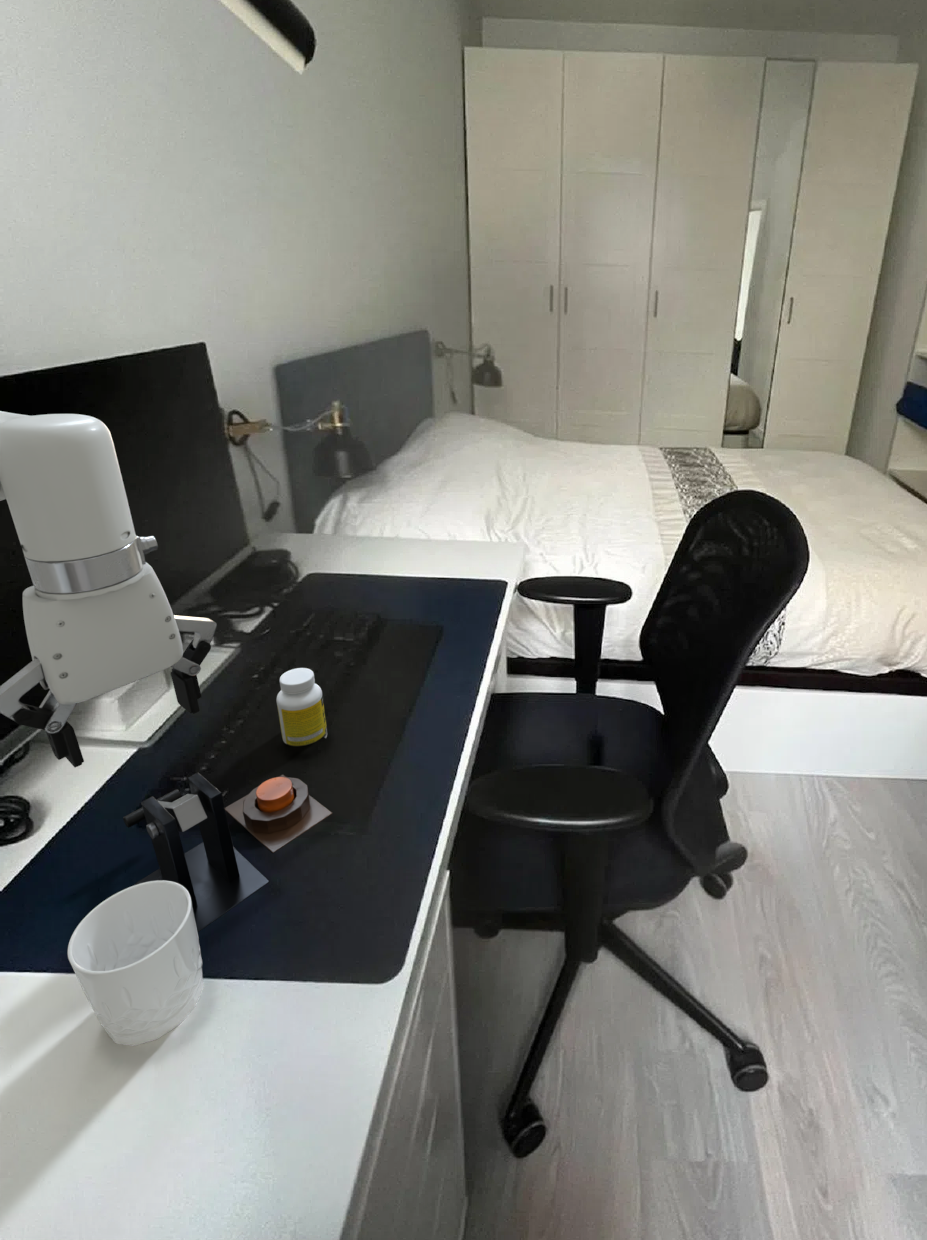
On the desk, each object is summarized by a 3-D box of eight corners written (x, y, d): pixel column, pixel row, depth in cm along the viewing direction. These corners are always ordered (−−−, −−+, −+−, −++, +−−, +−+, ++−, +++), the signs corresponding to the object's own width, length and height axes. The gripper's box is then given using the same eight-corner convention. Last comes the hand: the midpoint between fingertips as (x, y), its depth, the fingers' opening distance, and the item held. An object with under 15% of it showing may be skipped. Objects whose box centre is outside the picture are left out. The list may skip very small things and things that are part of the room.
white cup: (81, 1024, 52) (47, 937, 48) (181, 947, 58) (158, 864, 55) (131, 1085, 48) (99, 995, 45) (233, 995, 55) (212, 910, 51)
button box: (225, 816, 73) (220, 795, 72) (284, 782, 78) (280, 762, 77) (274, 861, 67) (270, 839, 66) (334, 821, 73) (331, 800, 72)
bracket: (137, 892, 63) (108, 797, 59) (220, 840, 70) (200, 752, 65) (186, 951, 58) (158, 852, 54) (271, 890, 64) (253, 796, 60)
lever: (129, 833, 65) (119, 811, 65) (181, 804, 69) (172, 783, 69) (166, 842, 57) (155, 817, 57) (223, 809, 61) (213, 786, 61)
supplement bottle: (335, 740, 85) (327, 676, 82) (294, 759, 82) (283, 694, 78) (316, 721, 89) (307, 660, 85) (276, 739, 85) (265, 675, 81)
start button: (251, 802, 71) (249, 790, 71) (282, 784, 74) (280, 772, 73) (269, 818, 69) (267, 805, 69) (300, 798, 72) (298, 786, 71)
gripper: (177, 528, 63) (210, 678, 69) (-63, 586, 50) (4, 764, 56) (215, 547, 59) (246, 704, 65) (-35, 616, 46) (34, 804, 52)
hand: (134, 732), depth 61 cm, fingers open, 9 cm apart
